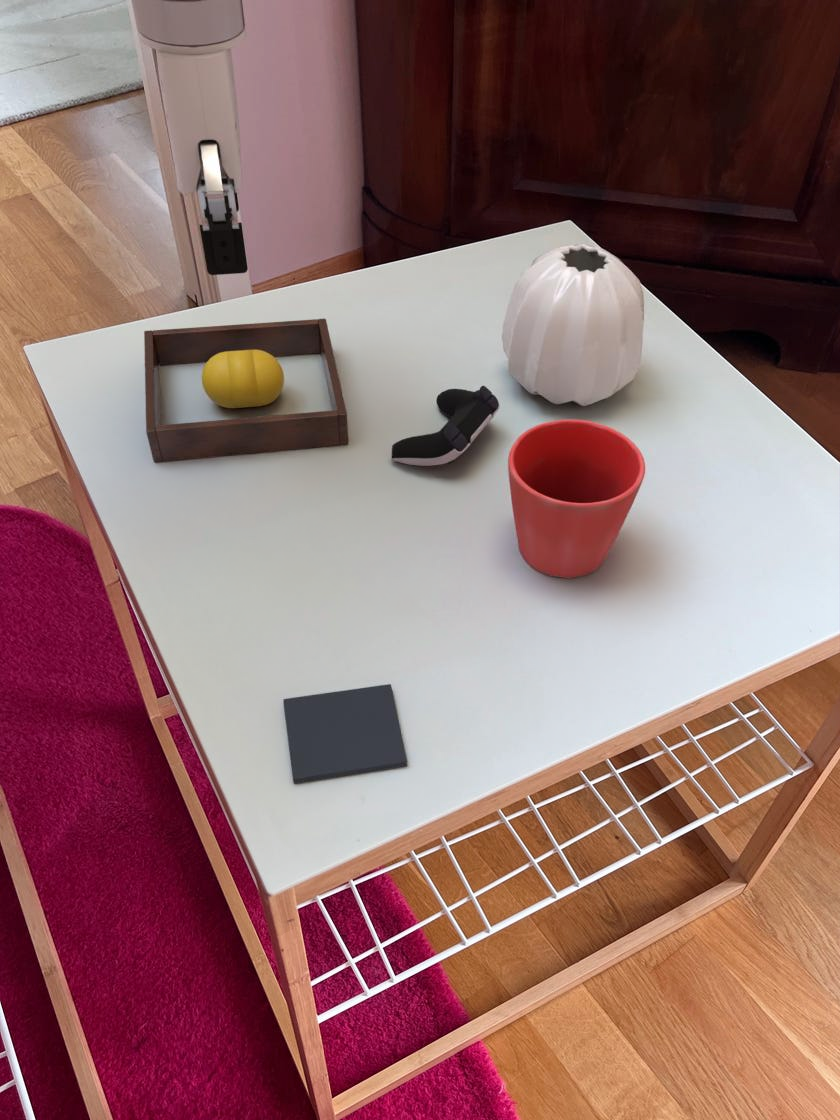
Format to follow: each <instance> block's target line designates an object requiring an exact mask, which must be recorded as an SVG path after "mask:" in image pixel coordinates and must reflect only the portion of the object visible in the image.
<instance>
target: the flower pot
mask: <svg viewBox="0 0 840 1120" xmlns="http://www.w3.org/2000/svg"><path fill="white" fill-rule="evenodd" d="M644 458H645V457H644V456H643V454H642V451H641V450H640V449H639V447H638V446H637V445H636V444H635V442H633V441H632V440H631V439H630V438H629V437H627V436H626V435H625V434H623V433H622V432H620V431H619V430H616V429H614V428H612V427H610V426H607V425H605V424H602V423H598V422H594V421H590V420H582V419H557V420H552V421H547V422H543V423H540V424H537V425H534V426H533V427H531V428H529V429H527V430H526V431H524V432H523V433H522V434H520V435H519V436H518V437H517V438H516V439H515V441H514V442H513V444H512V445H511V448H510V450H509V453H508V457H507V471H508V481H509V482H508V483H509V489H510V491H509V492H510V497H511V499H510V500H511V507H512V513H513V521H514V528H515V532H516V534H515V535H516V540H517V546H518V550H519V553H520V555H521V557H522V558H523V560H524V561H525V562H526V563H527V564H528V565H529V566H530V567H531V568H533V569H534V570H536V571H538V572H539V573H542V574H545V575H547V576H549V577H560V578H563V579H572V578H573V579H574V578H580V577H583V576H587V575H589V574H591V573H593V572H595V571H597V570H598V569H599V568H600V567H601V566H602V565H603V564H604V562H605V560H606V559H607V557H608V554H609V552H610V551H611V549H612V548H613V545H614V543H615V542H616V539H617V537H618V535H619V533H620V531H621V529H622V528H623V525H624V523H625V521H626V519H627V517H628V515H629V513H630V511H631V508H632V506H633V505H634V502H635V499H636V498H637V495H638V493H639V491H640V488H641V486H642V484H643V481H644V478H645V475H646V462H645V459H644Z"/></svg>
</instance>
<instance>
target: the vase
mask: <svg viewBox="0 0 840 1120" xmlns="http://www.w3.org/2000/svg"><path fill="white" fill-rule="evenodd" d="M644 295H645V294H644V290H643V287H642V283H641V281H640V279H639V278H638V277H637V276H636V274H634V272H632V270H630V268H629V267H628V266H626V265H625V263H623V261H622V260H621V259H620V258H619V257H617V256H615V255H614V254H612V253H611V252H609V251H607V250H606V249H604V248H602V247H599V246H590V245H587V244H586V243H579V244H575V245H572V244H567V245H563V246H559V247H557V248H554V249H552V250H549V251H547V252H545V253H542V254H541V255H538V257H535V258H534V259H533V260H532V262H531V264H530V266H529V267H528V268H527V269H526V270H524V271H523V272H522V273H521V274H520V277H519V279H518V280H517V281H516V282H515V285H514V287H513V290H512V292H511V295H510V297H509V301H508V303H507V308H506V311H505V315H504V319H503V324H502V332H501V333H502V334H501V336H502V337H501V342H502V349H503V352H504V353H505V357H506V358H507V361H508V372H509V374H510V375H512V377H513V378H514V379H515V380H516V381H517V382H518V383H519V384H520V385H521V386H522V387H523V388H524V389H525V390H526V391H527V392H528V393H529V394H531V395H534V396H535V395H536V396H537V395H539V396H541V397H543V398H544V399H546V400H547V401H548V402H550V403H552V404H554V405H561V404H566V403H570V402H573V403H575V404H578V405H580V406H582V407H587V406H589V405H592V404H594V403H595V404H596V403H597V402H600V401H601V400H602V401H603V400H604V399H609V398H610V397H611V396H613V395H614V394H616V393H617V392H619V391H620V390H621V389H623V388H624V387H626V385H628V384H630V383H631V382H632V381H633V380H634V379H635V377H636V376H637V374H638V371H639V369H640V365H641V359H642V353H643V340H644V339H643V338H644V323H645V297H644Z"/></svg>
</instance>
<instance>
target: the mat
mask: <svg viewBox="0 0 840 1120" xmlns="http://www.w3.org/2000/svg"><path fill="white" fill-rule="evenodd" d="M282 702H283V709H284V717H285V725H286V734H287V742H288V750H289V758H290V767H291V774H292V783H293V784H300V783H306V782H307V783H308V782H312V781H319V780H326V779H331V778H338V777H344V776H351V775H358V774H363V773H371V772H376V771H382V770H389V769H395V768H400V767H407V766H408V758H407V754H406V749H405V745H404V739H403V735H402V731H401V730H402V729H401V725H400V721H399V715H398V711H397V707H396V701H395V697H394V692H393V688H392V684H391V683H387V684H381V685H373V686H368V687H366V686H365V687H360V688H352V689H345V690H338V691H331V692H324V693H316V694H309V695H303V696H296V697H289V698H283V700H282Z"/></svg>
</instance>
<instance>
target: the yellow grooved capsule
mask: <svg viewBox="0 0 840 1120" xmlns="http://www.w3.org/2000/svg"><path fill="white" fill-rule="evenodd" d="M201 383H202V388H203V390H204V392H205V394H206V395H207V397H208V398H209V399H210V401H212V402H213V403H215V404H216V405H217V406H220V407H222V408H225V409H243V408H255V407H262V406H263V407H264V406H267V405H270V404H271V403H273V402H274V401H275V400H276V399H278V398H279V396H280V395H281V393H282V391H283V388H284V385H285V374H284V370H283V368H282V366H281V364H280V362H279V361H278V359H277V358H276V357H275V356H274V357H273V356H272V355H270V354H269V353H267V352H265V351H261V350H240V351H226V352H221V353H218V354H216V355H214V356H213V357H211V358H210V359H209V360H208V361H207V362H205V364H204V367H203V369H202V373H201Z"/></svg>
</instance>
